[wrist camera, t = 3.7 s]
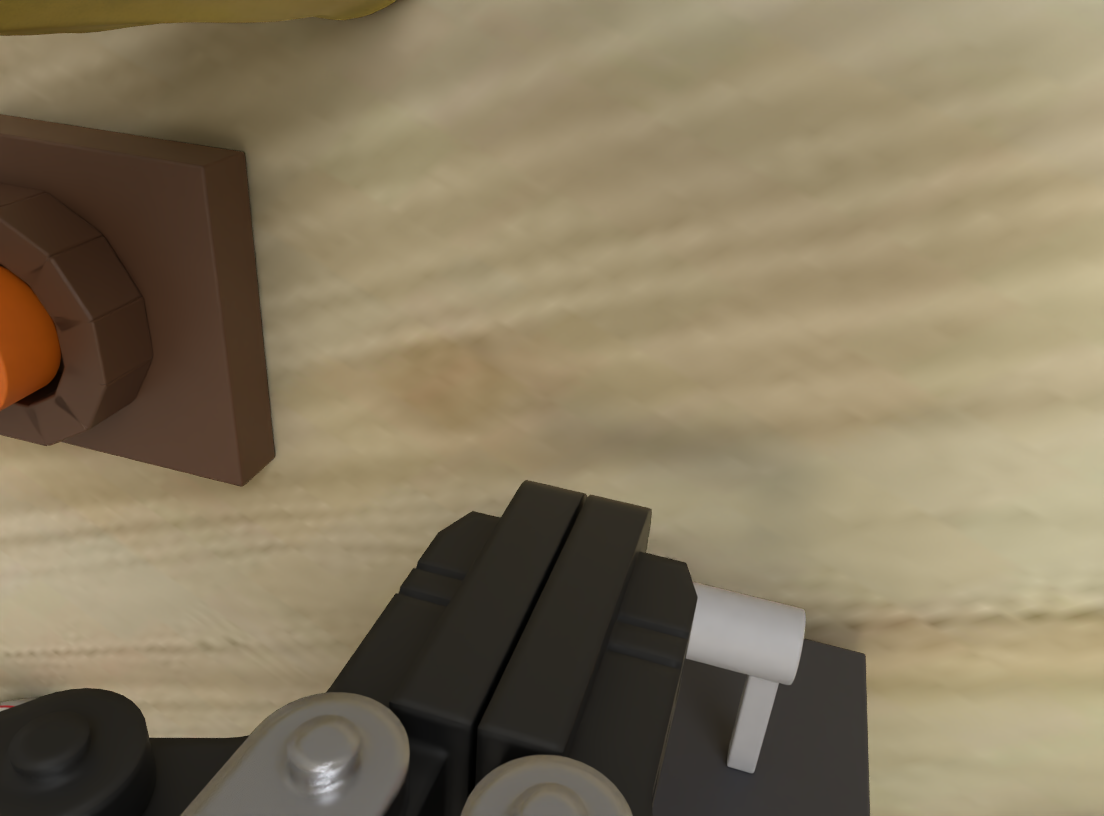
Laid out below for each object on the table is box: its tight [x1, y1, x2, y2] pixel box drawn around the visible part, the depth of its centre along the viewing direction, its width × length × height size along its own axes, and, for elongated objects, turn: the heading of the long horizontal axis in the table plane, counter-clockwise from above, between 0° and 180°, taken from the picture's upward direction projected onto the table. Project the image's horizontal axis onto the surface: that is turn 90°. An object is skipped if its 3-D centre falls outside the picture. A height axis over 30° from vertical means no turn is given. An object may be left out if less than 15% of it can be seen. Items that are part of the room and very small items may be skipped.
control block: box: [0, 114, 275, 486], centre depth 23 cm, size 11×9×4 cm
